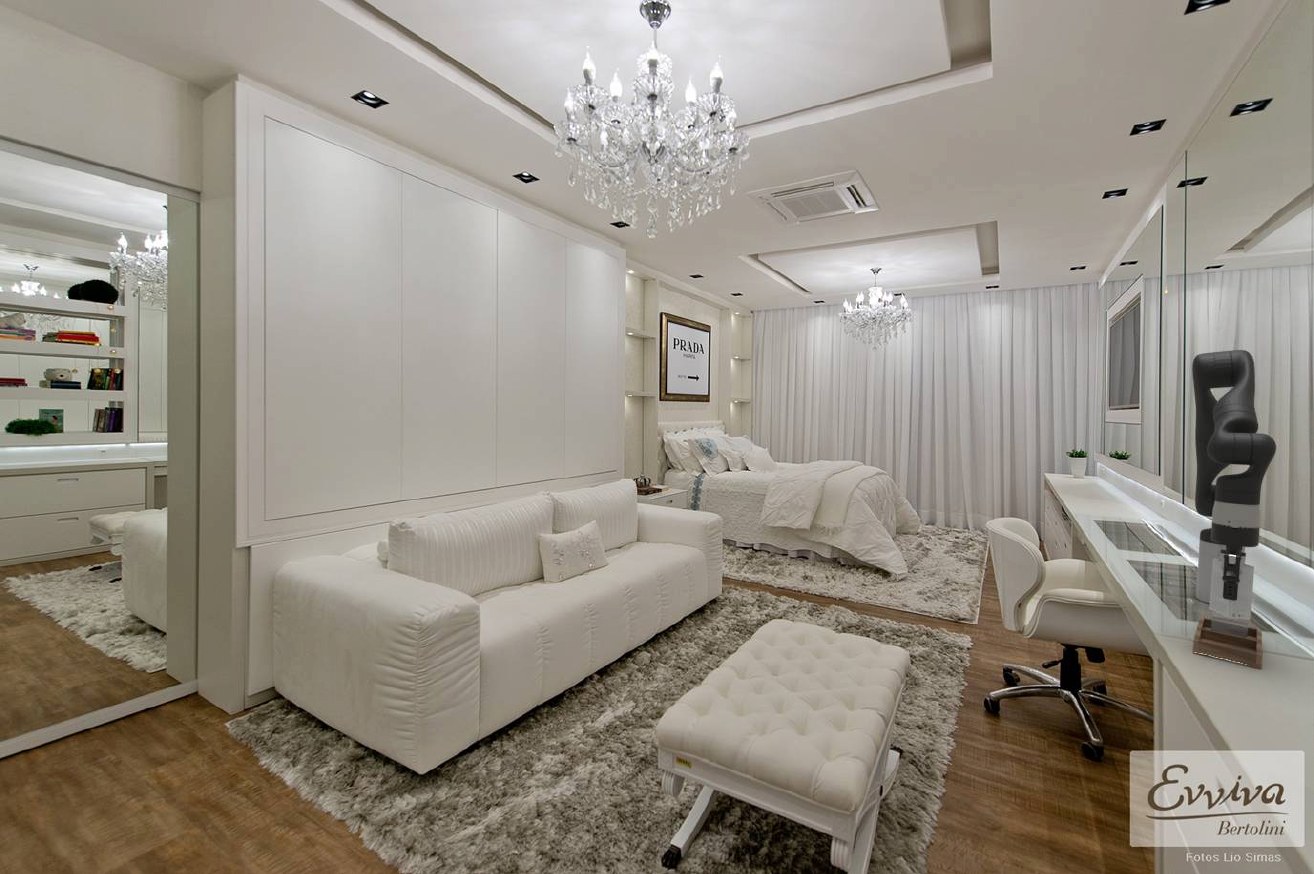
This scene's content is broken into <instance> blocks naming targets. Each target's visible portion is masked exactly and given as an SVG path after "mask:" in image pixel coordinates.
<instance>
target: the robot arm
mask: <svg viewBox="0 0 1314 874" xmlns="http://www.w3.org/2000/svg"><path fill="white" fill-rule="evenodd" d="M1192 361H1193V362H1192V365H1191V366H1192V367H1191V368H1192V369H1191V372H1192V383H1193V393H1194V403H1195V425H1194V426H1195V427H1194V428H1195V430H1194V431H1195V432H1194V438H1195V439H1194V441H1195V442H1194V443H1195V455H1196V456H1195V457H1196V479H1195V482H1196V483H1195V494H1194V507H1195V510H1196V513H1198V515H1200V516H1203V517H1209V518H1211V527H1210V528H1204V529H1201V531H1200V533H1199V545H1198V559H1197V560H1198V562H1197V563H1198V564H1197V577H1196V578H1197V579H1196V591H1195V598H1196V600H1198V601H1200V602H1204V603H1206V604H1210V592H1211V578H1212V563H1213V559H1221V560H1222V561H1221V571H1222V572H1223V576H1222V580H1223V582H1224V586H1223V598H1224V599H1227V600H1233V601H1236V600H1237V592H1238V584H1239V583H1240V579H1239V576H1240V575H1242V574H1243V564H1246V560H1247V559H1246V557H1247V553H1246V548H1256V547H1258V546H1259V545H1260V544H1259V543H1260V532H1261V531H1260V529H1261V509H1260V507H1261V506H1260V503H1261V490H1262V484H1263V480H1264V477H1265V475H1266V473H1267V470H1268V468H1269V467H1270V465H1271V462H1272V460H1273V458H1275V456H1276V455H1275V454H1276V451H1277V444H1276V442H1275V440H1274V438H1273V437H1271V436H1270V435H1269V434H1265V433H1258V430H1259V423H1258V417H1257V413H1256V408H1255V394H1256V370H1255V368H1256V367H1255V362H1254V361H1255V360H1254V358H1253V355H1252V354H1251V352H1249V351H1247V350H1245V349H1234V350H1232V349H1231V350H1224V351H1223V350H1222V351H1213V352H1212V351H1211V352H1205V353H1199V354H1196V356H1195V357H1194V358H1193V360H1192ZM1223 388H1231V389H1230V390H1229V391H1228V392H1226V393H1225V394H1224V395H1223V396H1221V397H1220V398H1219V399H1218V400H1217V399H1216V398H1215V396H1214V394H1213V392H1212V391H1211V390H1212V389H1223ZM1230 465H1239V466H1249V467H1248V469H1246V470H1244V471H1243V472H1240V473H1235V474H1224V475H1220V476H1219V474H1221V472H1223V470H1225V469H1227V468H1228V466H1230ZM1215 479H1216V481H1215V484H1213V483H1214V480H1215ZM1230 572H1233V573H1235V574H1236V577H1233V576H1227V573H1230Z"/></svg>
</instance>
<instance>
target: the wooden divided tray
mask: <svg viewBox="0 0 1314 874" xmlns="http://www.w3.org/2000/svg"><path fill="white" fill-rule="evenodd" d="M1193 652H1197V653H1203V654H1207V655H1211V656H1214V657H1218V658H1223V659H1228V660H1231V661H1235V662H1240V663H1243V664H1247V665H1249V666H1248V667H1250V666H1252V667H1251V668H1254V669H1258V670H1262V665H1263V629H1261V628H1256V627H1252V626H1249V620H1248V621H1247V620H1243V619H1230V618H1227V617H1225V616H1223V615H1216V614H1212V616H1211V618H1206V617H1205V618H1204V617H1201V616H1200V617H1199V620H1198V624H1197V626H1196V630H1195V634H1194V637H1193V645H1192V653H1193Z"/></svg>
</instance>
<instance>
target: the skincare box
mask: <svg viewBox="0 0 1314 874" xmlns="http://www.w3.org/2000/svg"><path fill="white" fill-rule="evenodd" d="M1221 561H1222V560H1221V559H1213V563H1212V578H1211V592H1210V603H1209V610H1210V611H1212V612H1214V613H1217V614H1218V615H1219V616H1222V617H1227V618H1230V619H1237V620H1243V621H1247V620H1248V621H1251V617H1252V605H1253V604H1252V603H1253V602H1252V601H1253V591H1254V590H1253V588H1254V574H1255V573H1254V572H1255V567H1254V566H1253V565H1250V564H1246V563H1244V564H1243V574H1242V575H1240V576H1239V579H1240V583H1239V584H1238V592H1237V600H1236V601H1233V600H1227V599H1224V598H1223V586H1224V582H1223V580H1222V576H1223V572H1222V571H1221ZM1227 576H1233V577H1236V574H1235V573H1233V572H1230V573H1227Z"/></svg>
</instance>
